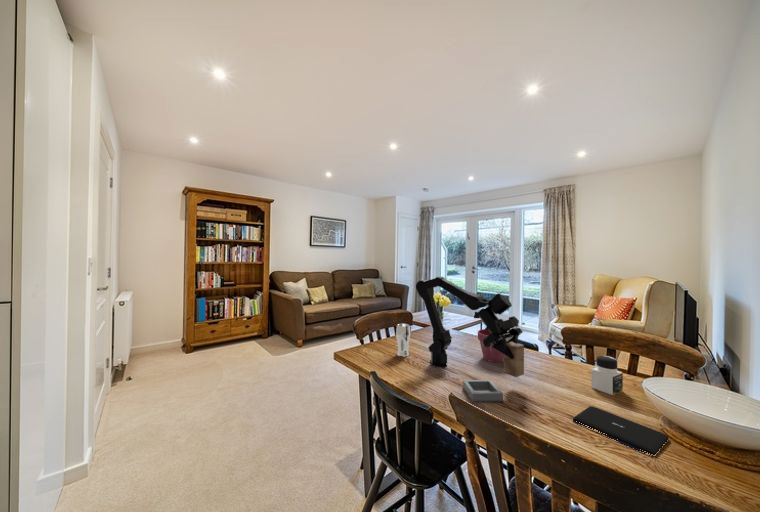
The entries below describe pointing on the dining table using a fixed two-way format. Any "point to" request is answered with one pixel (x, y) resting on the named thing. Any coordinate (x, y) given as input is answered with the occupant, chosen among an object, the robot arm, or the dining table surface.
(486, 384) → the holder box
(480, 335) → the plant pot
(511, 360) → the walnut block
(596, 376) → the medicine bottle
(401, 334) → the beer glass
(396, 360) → the dining table surface
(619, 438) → the laptop
